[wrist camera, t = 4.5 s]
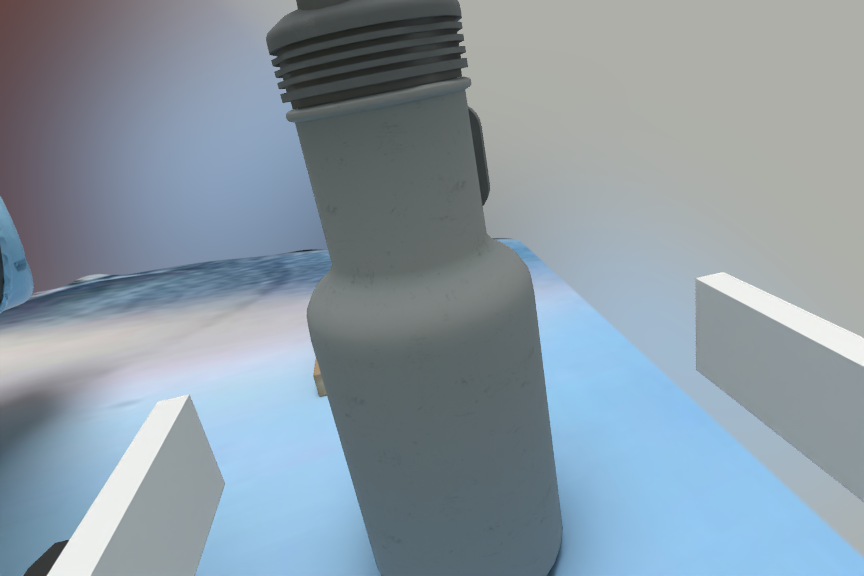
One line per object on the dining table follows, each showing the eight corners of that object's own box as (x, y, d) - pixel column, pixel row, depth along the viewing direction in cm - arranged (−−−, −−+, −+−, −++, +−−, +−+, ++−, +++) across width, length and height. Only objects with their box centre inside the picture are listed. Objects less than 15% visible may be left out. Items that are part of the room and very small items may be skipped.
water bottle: (405, 469, 34) (284, -26, 24) (562, 469, 32) (499, -83, 22) (351, 620, 25) (120, -76, 15) (566, 636, 22) (460, -185, 13)
